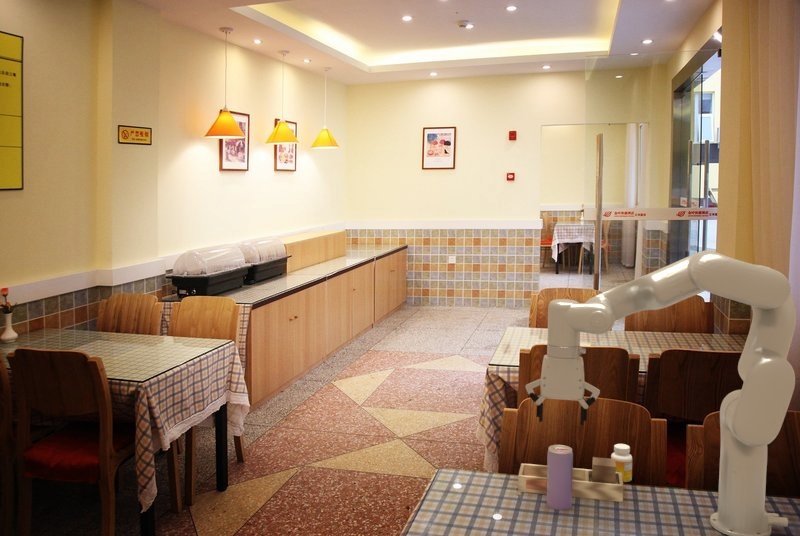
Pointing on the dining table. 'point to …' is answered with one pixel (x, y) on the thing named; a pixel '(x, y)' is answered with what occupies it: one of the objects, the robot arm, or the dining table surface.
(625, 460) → the supplement bottle
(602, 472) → the walnut block
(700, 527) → the dining table surface
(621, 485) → the rack
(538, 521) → the dining table surface
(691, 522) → the dining table surface
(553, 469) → the beverage can
